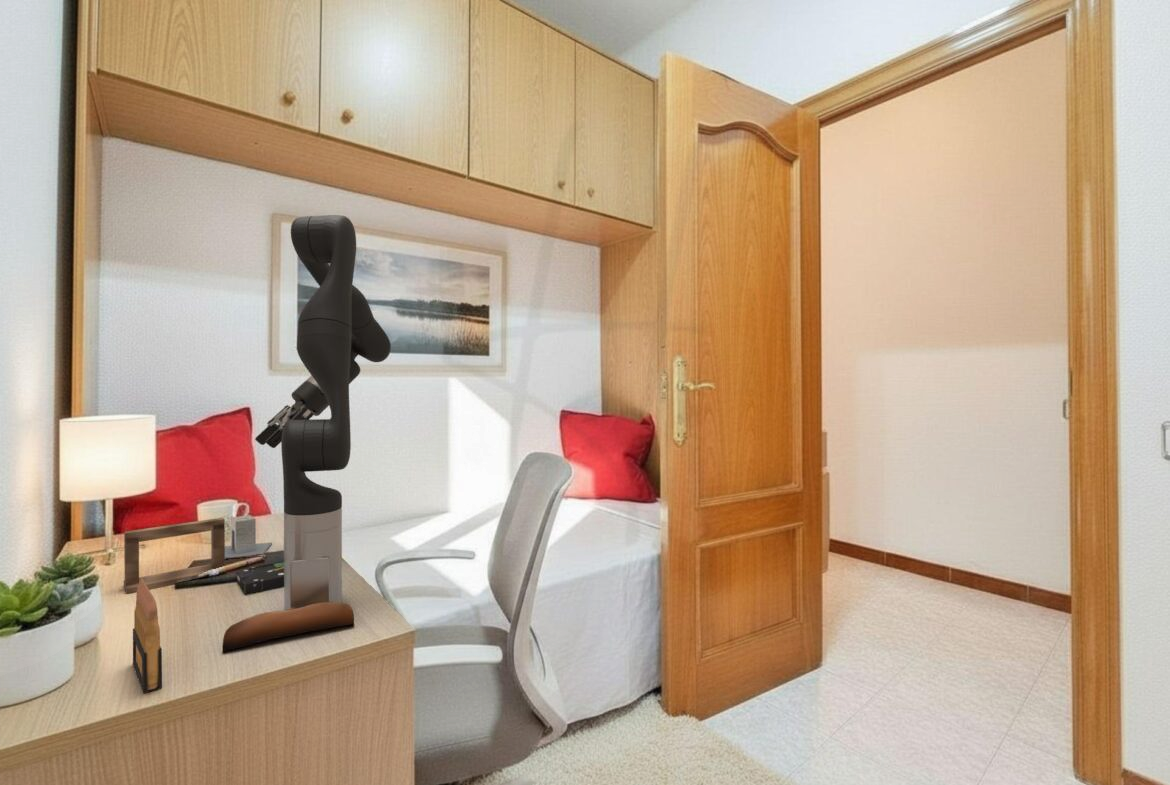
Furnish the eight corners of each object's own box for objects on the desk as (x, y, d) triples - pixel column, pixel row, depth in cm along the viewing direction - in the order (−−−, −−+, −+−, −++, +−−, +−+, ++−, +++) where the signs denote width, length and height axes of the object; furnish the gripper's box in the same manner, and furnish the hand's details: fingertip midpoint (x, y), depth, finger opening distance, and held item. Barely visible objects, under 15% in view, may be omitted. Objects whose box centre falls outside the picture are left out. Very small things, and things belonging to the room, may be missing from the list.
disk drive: (245, 599, 100) (329, 579, 110) (244, 584, 100) (329, 565, 110) (235, 583, 108) (315, 566, 117) (235, 570, 108) (314, 553, 117)
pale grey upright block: (250, 545, 130) (250, 515, 129) (255, 550, 126) (255, 518, 126) (230, 549, 127) (230, 517, 127) (235, 554, 123) (235, 521, 123)
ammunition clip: (162, 688, 69) (161, 596, 69) (143, 694, 68) (143, 600, 68) (149, 659, 77) (149, 575, 76) (132, 664, 75) (132, 579, 75)
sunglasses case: (348, 608, 94) (351, 581, 91) (353, 642, 89) (355, 615, 86) (226, 631, 85) (224, 602, 82) (222, 671, 80) (220, 642, 77)
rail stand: (220, 566, 116) (220, 516, 116) (226, 573, 112) (226, 520, 112) (123, 585, 105) (123, 529, 105) (126, 593, 101) (126, 535, 100)
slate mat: (262, 556, 123) (262, 554, 123) (211, 561, 120) (211, 558, 120) (272, 544, 132) (272, 542, 132) (225, 548, 129) (225, 546, 129)
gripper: (297, 380, 127) (241, 430, 119) (317, 379, 117) (258, 434, 109) (320, 401, 131) (268, 452, 123) (342, 403, 121) (287, 458, 113)
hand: (263, 443), depth 116 cm, fingers open, 8 cm apart
